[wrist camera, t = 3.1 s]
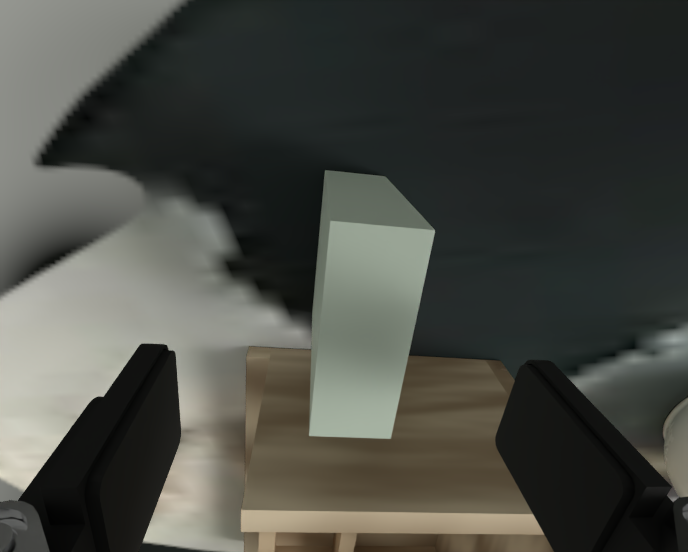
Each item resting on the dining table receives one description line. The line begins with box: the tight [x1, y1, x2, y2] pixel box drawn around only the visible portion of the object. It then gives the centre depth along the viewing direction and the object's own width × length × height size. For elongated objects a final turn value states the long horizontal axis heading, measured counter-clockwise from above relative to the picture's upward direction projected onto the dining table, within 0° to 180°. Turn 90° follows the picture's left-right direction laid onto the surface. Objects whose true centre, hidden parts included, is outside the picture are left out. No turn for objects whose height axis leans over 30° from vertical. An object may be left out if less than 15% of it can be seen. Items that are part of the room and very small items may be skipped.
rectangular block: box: [309, 170, 435, 439], centre depth 17 cm, size 8×3×9 cm, turn 174°
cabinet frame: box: [241, 346, 554, 552], centre depth 22 cm, size 18×16×10 cm
